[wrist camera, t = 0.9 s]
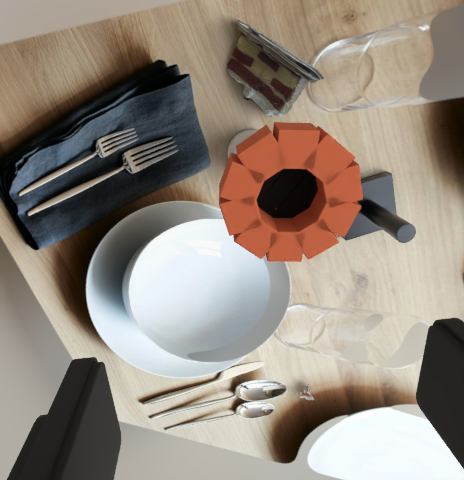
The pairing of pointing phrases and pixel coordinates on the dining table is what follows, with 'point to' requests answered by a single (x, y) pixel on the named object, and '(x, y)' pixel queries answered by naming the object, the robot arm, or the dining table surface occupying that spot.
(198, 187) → the dining table surface
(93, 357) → the robot arm
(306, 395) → the figurine
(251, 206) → the ring
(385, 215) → the black peg stand
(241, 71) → the chocolate cake
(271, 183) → the travel mug
